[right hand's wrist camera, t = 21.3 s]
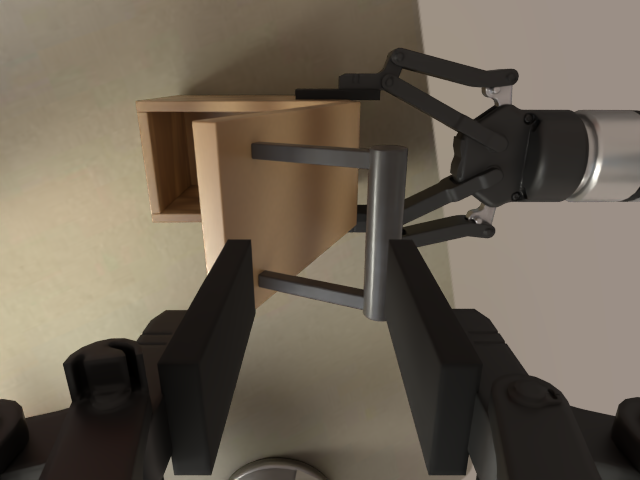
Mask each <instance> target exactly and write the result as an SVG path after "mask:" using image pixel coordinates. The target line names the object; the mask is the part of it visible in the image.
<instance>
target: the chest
mask: <svg viewBox="0 0 640 480" xmlns="http://www.w3.org/2000/svg"><path fill="white" fill-rule="evenodd" d="M345 101H349V102H352V101H350V100H295V95H177V96H169V97H162V98H155V99H147V100H140V101H136V108H137V114H138V121H139V129H140V136H141V143H142V150H143V157H144V164H145V172H146V179H147V186H148V193H149V200H150V207H151V213H152V214H151V215H152V222H202V219H201V209H200V199H199V189H198V178H197V168H196V158H195V148H194V138H193V127H192V121H195V120H203V119H211V118H219V117H227V116H234V115H242V114H250V113H258V112H266V111H274V110H282V109H290V108H298V107H305V106H313V105H321V104H329V103H337V102H345Z"/></svg>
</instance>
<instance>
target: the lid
mask: <svg viewBox="0 0 640 480" xmlns="http://www.w3.org/2000/svg"><path fill="white" fill-rule="evenodd" d="M192 127H193V138H194V148H195V158H196V168H197V178H198V189H199V199H200V209H201V219H202V229H203V240H204V250H205V260H206V270H207V275H208V273H209V272H210V270H211V268H212V266H213V265H214V263H215V261H216V259H217V258H218V256H219V254H220V252H221V250H222V249H223V247H224V245H225V243H226V242H227V240H228V239H251V245H252V262H253V279H254V296H255V309H257V308H258V307H259V306H260V305H261V304H263V303H264V302H265V301H266V300H267V299H269V298H270V297H271V296H272V295H273V294H274V293H276V292H277V291H279V292H284V293H288V294H293V295H297V296H302V297H306V298H311V299H315V300H320V301H325V302H329V303H334V304H338V305H343V306H347V307H352V308H356V309H361V310H363V314H364V315H365V316H366V317H367V318H369V319H371V320H374V321H386V317H385V296H386V279H387V262H388V245H389V239H402V227H403V213H404V199H405V185H406V171H407V157H408V148H406V147H403V146H397V145H376V146H372V147H370V148H369V149H362V148H359V131H360V102H349V101H345V102H337V103H329V104H321V105H313V106H305V107H298V108H290V109H282V110H274V111H266V112H258V113H250V114H242V115H234V116H227V117H219V118H211V119H203V120H195V121H192ZM358 168H361V169H369V171H368V196H367V221H366V246H365V271H364V290H362V289H357V288H352V287H347V286H342V285H337V284H332V283H327V282H323V281H318V280H313V279H308V278H303V277H298V276H296V275H297V274H298V273H300V272H301V271H302V270H303V269H304V268H306V267H307V266H308V265H309V264H310V263H311V262H313V261H314V260H315V259H316V258H317V257H319V256H320V255H321V254H322V253H323V252H325V251H326V250H327V249H328V248H329V247H331V246H332V245H333V244H334V243H335V242H337V241H338V240H339V239H340V238H341V237H343V236H344V235H345V234H346V233H347V232H349V231H350V230H351V229H352V228H353V227H354V226H356V224H357V193H358Z"/></svg>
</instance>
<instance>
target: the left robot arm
mask: <svg viewBox="0 0 640 480" xmlns="http://www.w3.org/2000/svg"><path fill="white" fill-rule="evenodd" d="M402 69H406V70H410V71H414V72H418V73H421V74H425V75H429V76H433V77H437V78H440V79H444V80H448V81H452V82H455V83H459V84H463V85H467V86H471V87H482V94H483V95H484V96H485V97H490V98H492V99H493V100H494V102H495V105H494V106H493V107H491V108H490V109H488V110H487V111H485V112H484V113H482V114H481V115H479V116H478V117H476V118H475V119H474V120H473V119H471V118H469V117H468V116H466V115H463V114H461V113H460V112H458V111H456V110H454V109H453V108H451V107H449V106H447V105H446V104H444V103H442V102H440V101H439V100H437V99H435V98H433V97H432V96H430V95H428V94H426V93H425V92H423V91H421V90H419V89H418V88H416V87H414V86H412V85H411V84H409V83H407V82H405V81H404V80H402V79H400V78H399V75H400V73H401V70H402ZM518 77H519V75H518V72H517V71H516V70H515V69H498V70H489V71H485V70H481V69H478V68H474V67H470V66H466V65H463V64H459V63H455V62H452V61H448V60H444V59H440V58H437V57H433V56H429V55H426V54H422V53H418V52H415V51H411V50H407V49H403V48H397V49H394V50H392V51H390V52H389V53H388V55H387V60H386V62H385V65H384V67H383V69H382V70H381V71H380V72H379V73H376V74H343V75H341V76H339V89H296V90H295V100H380V90H384V91H386V92H388V93H390V94H391V95H393V96H395V97H397V98H399V99H400V100H402V101H404V102H406V103H408V104H409V105H411V106H413V107H415V108H416V109H418V110H420V111H422V112H424V113H425V114H427V115H429V116H431V117H432V118H434V119H436V120H438V121H440V122H441V123H443V124H445V125H446V126H448V127H450V128H452V129H453V130H455V131H457V132H458V134H457V135H456V136H454V142H453V148H454V158H453V160H452V163H451V170H450V173H451V174H452V175H450V176H448V177H446V178H444V179H442V180H441V181H440V182H439V183H438V184H436V185H434V186H431V187H429V188H427V189H425V190H423V191H421V192H419V193H417V194H415V195H413V196H411V197H409V198H407V199H405V200H404V213H403V225H404V224H406V223H408V222H410V221H412V220H414V219H416V218H419V217H421V216H423V215H425V214H427V213H429V212H431V211H433V210H435V209H438V208H440V207H442V206H444V205H446V204H448V203H450V202H457V201H460V200H462V199H464V198H466V197H468V196H470V195H473V196H474V197H475V198H477V199H478V200H479V201H480V202H482V203H481V205H480V207H478V208H477V209H473V210H470V211H468V212H467V214H466V215H456V216H451V217H446V218H442V219H437V220H433V221H429V222H424V223H420V224H415V225H411V226H406V227H402V239H412V240H413V242H414V243H415V245H416V247H420V246H425V245H430V244H434V243H439V242H443V241H448V240H452V239H457V238H461V237H466V236H471V237H481V238H490V237H492V236H493V235H494V234H495V228H494V227H493V226H492V221H493V217H494V213H495V209H496V207H499V206H501V205H503V204H505V203H508V202H560V201H563V200H566V201H568V202H615V201H618V202H628V201H631V202H640V111H634V110H578V111H576V112H573V111H570V110H521V109H518V108H517V107H515V106H514V105H511V104H512V85H514V84H515V83H516V82H517V80H518ZM366 221H367V205H357V224H356V226H354V227H353V228H352V229H351V230H350V231H349V232H366ZM229 480H327V479H326V477H325V476H324V475H323V474H321V473H320V472H319V471H318V470H316V469H315V468H313V467H311V466H310V465H307V464H305V463H303V462H300V461H296V460H292V459H285V458H269V459H262V460H258V461H255V462H252V463H249V464H247V465H245V466H243V467H242V468H240V469H239V470H237V471H236V472H235V473H234V474H233V475H232V476H231V477H230V479H229Z"/></svg>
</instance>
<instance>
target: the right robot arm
mask: <svg viewBox="0 0 640 480" xmlns="http://www.w3.org/2000/svg"><path fill="white" fill-rule="evenodd" d="M254 317H255V296H254V279H253V262H252V245H251V239H228V240H227V242H226V243H225V245H224V247H223V249H222V250H221V252H220V254H219V256H218V258H217V259H216V261H215V263H214V265H213V266H212V268H211V270H210V272H209V273H208V275H207V277H206V279H205V280H204V282H203V284H202V286H201V287H200V289H199V291H198V293H197V294H196V296H195V298H194V300H193V301H192V303H191V305H190V307H189V309H188V310H166V311H164V312H163V313H161V314H160V315H158V316H157V317H155V318H154V319H152V320H151V321H150V322H149V324H148V325H147V327H146V328H145V330H144V331H143V334H142V335H140V337H139V338H138V340H137V341H133V340H129V339H125V338H116V339H107V340H102V341H97V342H94V343H92V344H89V345H87V346H84V347H82V348H80V349H79V350H77V351H76V352H74V353H73V354H71V355H70V356H69V357H68V358H67V360H66V361H65V362H64V363H63V367H64V371H65V375H66V379H67V383H68V387H69V391H70V395H71V399H72V403H71V406H70V408H67V409H64V410H60V411H56V412H51V413H47V414H42V415H38V416H33V417H28V418H25V416H24V413H23V409H22V407H21V406H20V405H19V404H18V403H17V402H16V401H12V400H6V399H0V480H164V476H163V475H164V473H165V470H166V467H167V465H168V462H169V460H170V457H172V463H173V470H174V475H211V474H212V471H213V467H214V463H215V460H216V456H217V452H218V449H219V445H220V441H221V438H222V434H223V430H224V427H225V423H226V419H227V416H228V412H229V408H230V405H231V401H232V397H233V394H234V390H235V386H236V383H237V379H238V375H239V372H240V368H241V364H242V361H243V357H244V353H245V350H246V346H247V342H248V339H249V335H250V332H251V328H252V324H253V321H254ZM385 317H386V321H387V324H388V328H389V332H390V335H391V339H392V343H393V346H394V350H395V353H396V357H397V361H398V364H399V368H400V372H401V375H402V379H403V383H404V386H405V390H406V394H407V397H408V401H409V405H410V408H411V412H412V416H413V419H414V423H415V427H416V430H417V434H418V438H419V441H420V445H421V449H422V452H423V456H424V460H425V463H426V467H427V471H428V474H429V475H466V470H467V463H468V457H469V455H470V458H471V460H472V463H473V465H474V468H475V470H476V473H477V476H476V480H640V397H635V398H629V399H625V400H624V401H623V402H622V403H620V404H619V406H618V409H617V413H616V416H611V415H607V414H602V413H597V412H593V411H588V410H584V409H580V408H576V407H573V406H570V405H569V403H568V401H567V399H566V398H565V397H564V395H563V394H562V392H561V391H559V390H558V389H557V388H555V387H554V386H553V385H551V384H550V383H548V382H546V381H544V380H541V379H539V378H537V377H534V376H529V375H528V374H527V372H526V371H525V369H524V368H523V366H522V365H521V364H520V362H519V361H518V359H517V358H516V356H515V355H514V354H513V352H512V351H511V349H510V348H509V347H508V345H507V344H505V341H504V339H503V338H502V336H501V335H500V334H499V333H498V331H497V329H496V328H495V326H494V325H493V324H492V322H491V321H490V319H488V318H487V317H485V316H484V315H483V314H481V313H480V312H478V311H477V310H475V309H451V307H450V305H449V303H448V301H447V300H446V298H445V296H444V294H443V293H442V291H441V289H440V287H439V286H438V284H437V282H436V280H435V279H434V277H433V275H432V273H431V272H430V270H429V268H428V266H427V265H426V263H425V261H424V259H423V258H422V256H421V254H420V252H419V250H418V249H417V247H416V245H415V243H414V242H413V240H412V239H389V245H388V262H387V279H386V296H385Z"/></svg>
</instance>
